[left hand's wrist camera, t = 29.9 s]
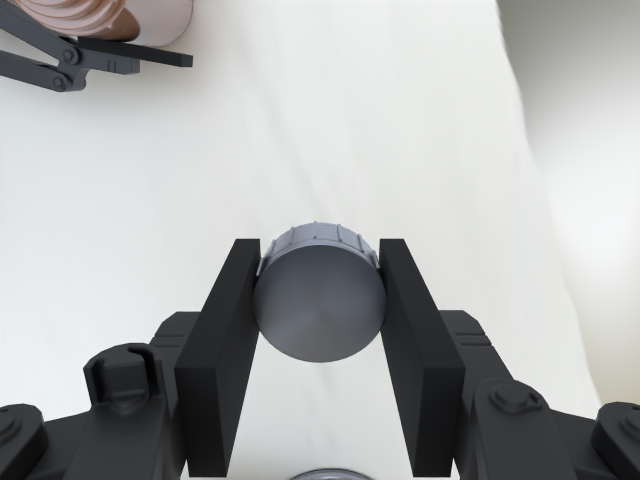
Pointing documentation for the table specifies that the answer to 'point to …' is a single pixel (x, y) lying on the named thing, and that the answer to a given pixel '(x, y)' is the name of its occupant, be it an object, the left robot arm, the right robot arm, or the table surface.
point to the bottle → (114, 19)
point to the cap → (319, 293)
